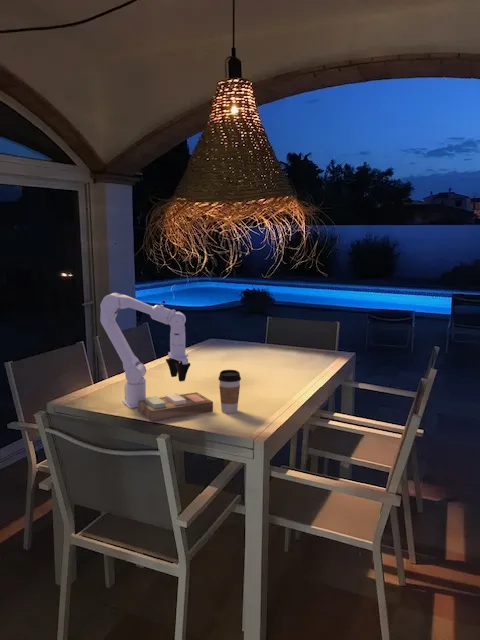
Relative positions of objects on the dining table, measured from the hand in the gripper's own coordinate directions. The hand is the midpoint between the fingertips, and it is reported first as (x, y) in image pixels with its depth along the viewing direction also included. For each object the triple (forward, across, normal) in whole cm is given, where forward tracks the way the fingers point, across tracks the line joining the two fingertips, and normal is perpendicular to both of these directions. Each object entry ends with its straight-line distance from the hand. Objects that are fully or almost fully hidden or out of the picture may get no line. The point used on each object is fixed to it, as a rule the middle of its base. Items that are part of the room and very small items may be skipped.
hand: (177, 378), depth 206 cm
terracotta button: (+10, -7, -4) cm, 13 cm away
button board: (+10, -7, +4) cm, 13 cm away
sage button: (+9, -7, +12) cm, 16 cm away
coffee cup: (+11, -16, -14) cm, 24 cm away
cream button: (+9, -7, +4) cm, 12 cm away
